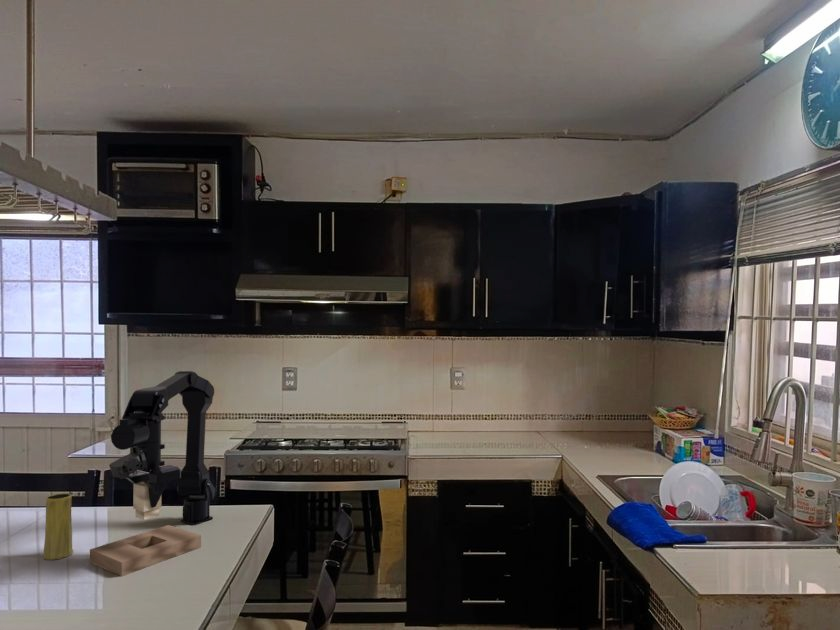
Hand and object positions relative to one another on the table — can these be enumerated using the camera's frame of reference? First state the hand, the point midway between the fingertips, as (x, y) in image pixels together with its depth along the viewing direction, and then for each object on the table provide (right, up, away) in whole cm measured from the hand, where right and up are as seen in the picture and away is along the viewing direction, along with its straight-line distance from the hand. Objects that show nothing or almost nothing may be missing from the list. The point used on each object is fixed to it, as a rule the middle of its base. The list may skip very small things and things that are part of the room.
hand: (147, 505), depth 137 cm
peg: (0, -3, 0) cm, 3 cm away
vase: (-22, -12, -1) cm, 25 cm away
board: (0, -12, 0) cm, 12 cm away
